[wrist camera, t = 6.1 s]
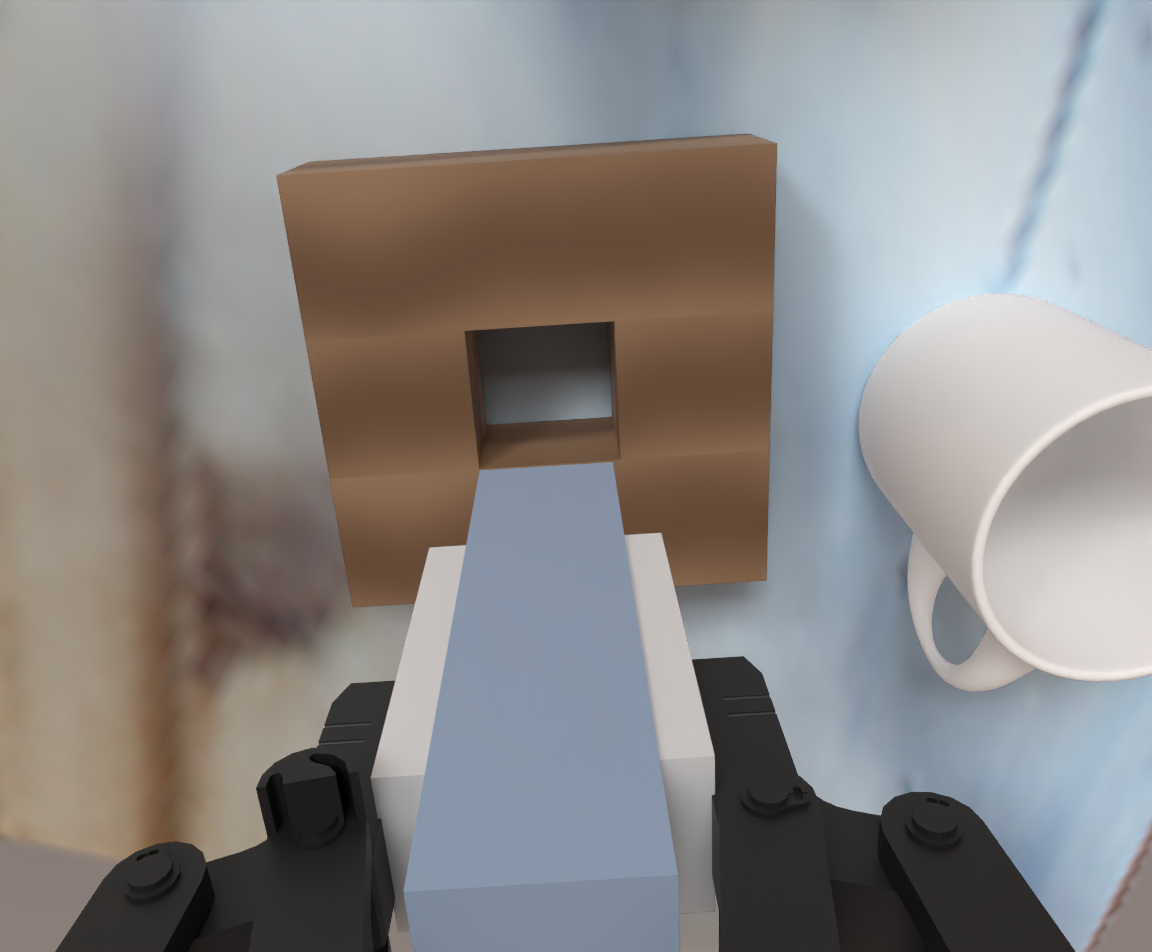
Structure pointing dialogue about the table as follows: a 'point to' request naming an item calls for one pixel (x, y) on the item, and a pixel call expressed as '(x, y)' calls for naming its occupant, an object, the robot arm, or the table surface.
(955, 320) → the mug
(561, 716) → the peg
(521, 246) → the socket block
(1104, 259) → the table surface
